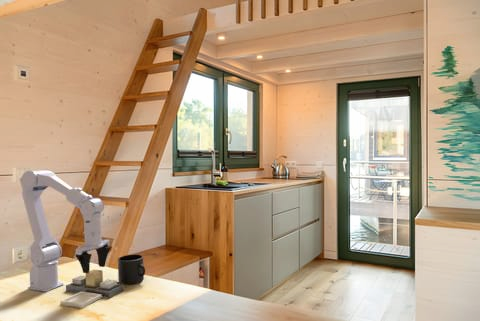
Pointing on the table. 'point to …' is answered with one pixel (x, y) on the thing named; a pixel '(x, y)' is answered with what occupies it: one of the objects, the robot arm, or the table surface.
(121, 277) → the mug
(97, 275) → the wooden block
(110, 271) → the table surface
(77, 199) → the robot arm
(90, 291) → the rail
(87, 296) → the parts tray
